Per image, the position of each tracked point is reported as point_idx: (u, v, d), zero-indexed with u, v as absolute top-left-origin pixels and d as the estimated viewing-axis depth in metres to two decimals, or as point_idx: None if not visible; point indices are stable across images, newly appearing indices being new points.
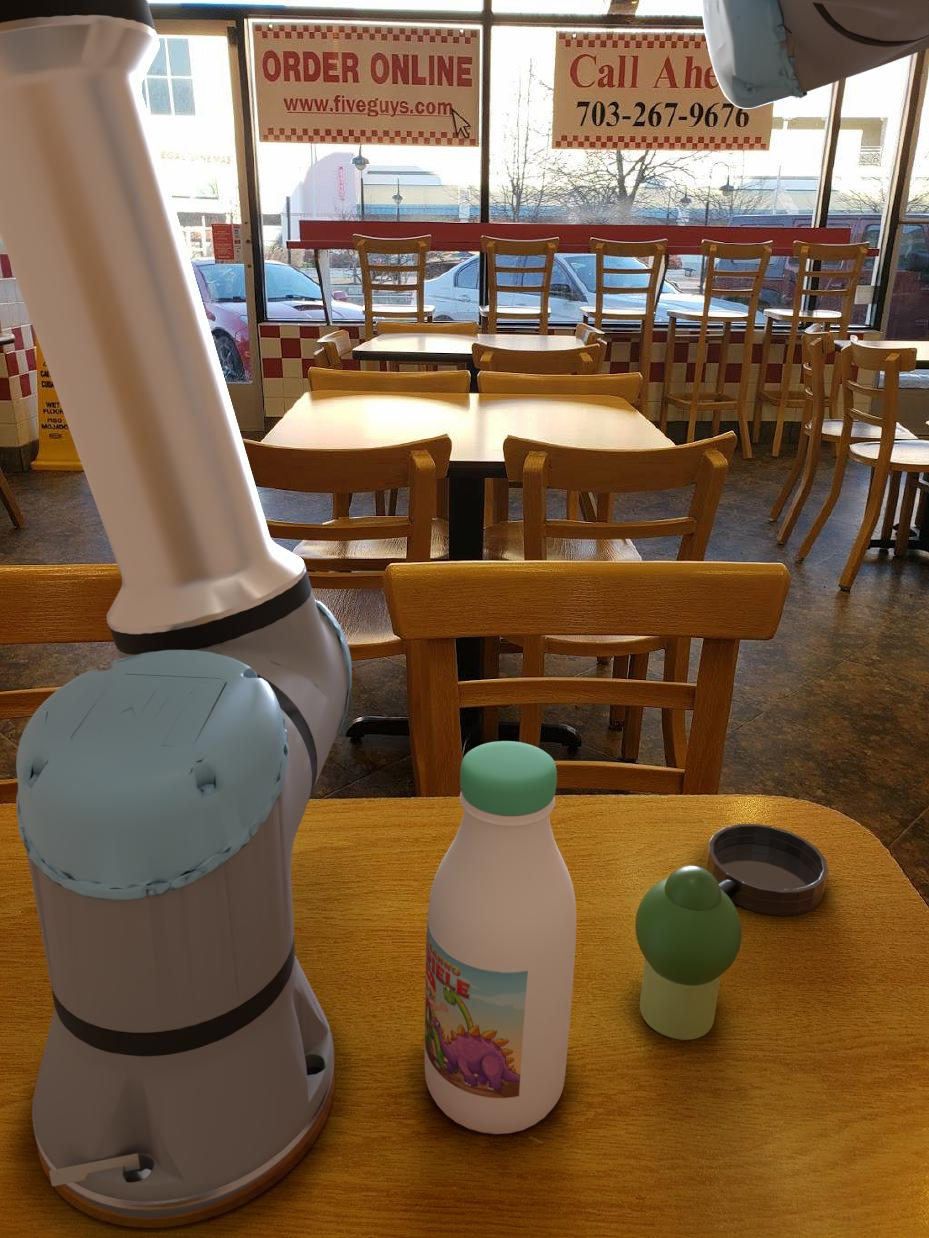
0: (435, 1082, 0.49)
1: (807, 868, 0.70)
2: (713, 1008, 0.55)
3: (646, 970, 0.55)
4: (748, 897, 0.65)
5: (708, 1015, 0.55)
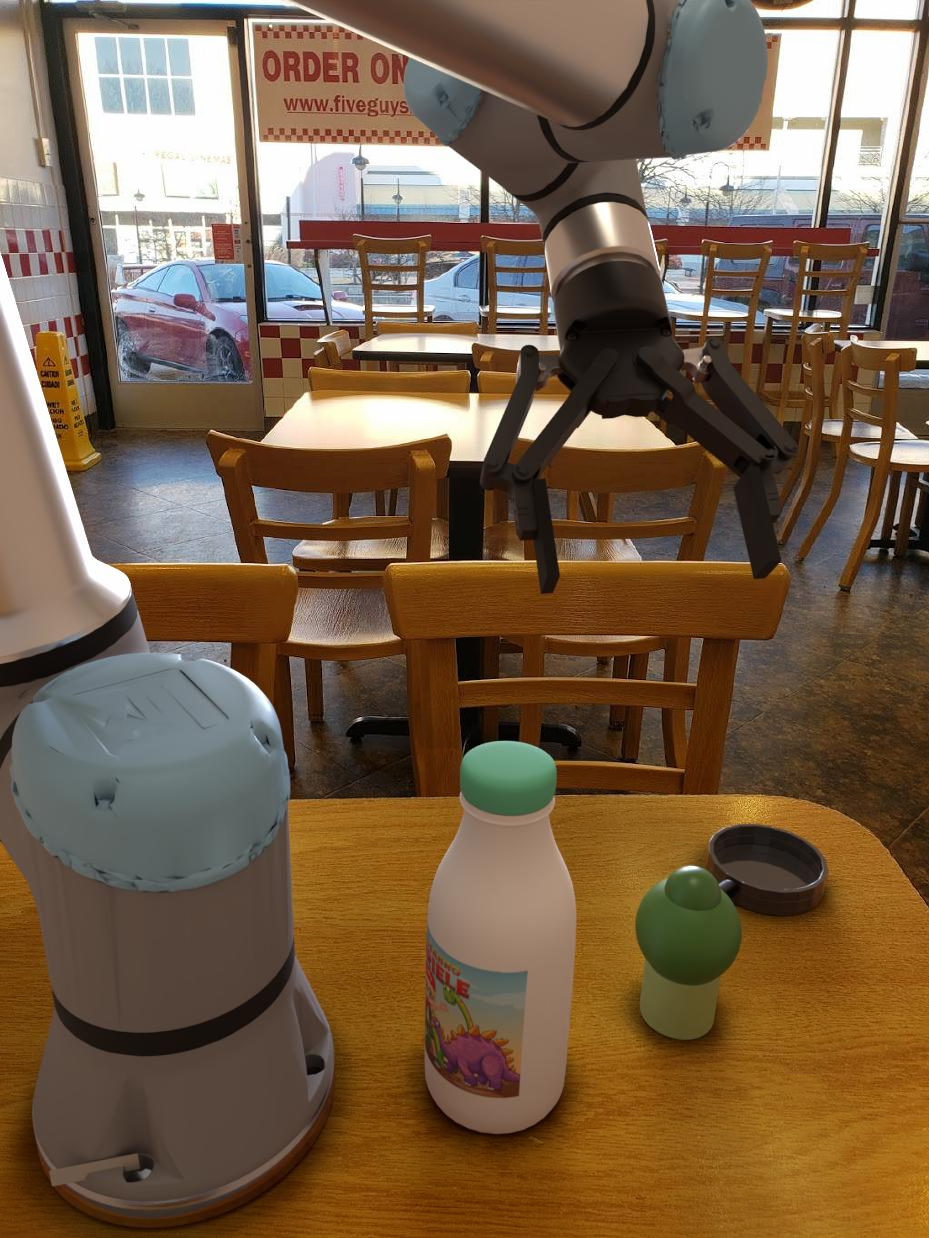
0: (435, 1082, 0.49)
1: (807, 868, 0.70)
2: (713, 1008, 0.55)
3: (646, 970, 0.55)
4: (748, 897, 0.65)
5: (708, 1015, 0.55)
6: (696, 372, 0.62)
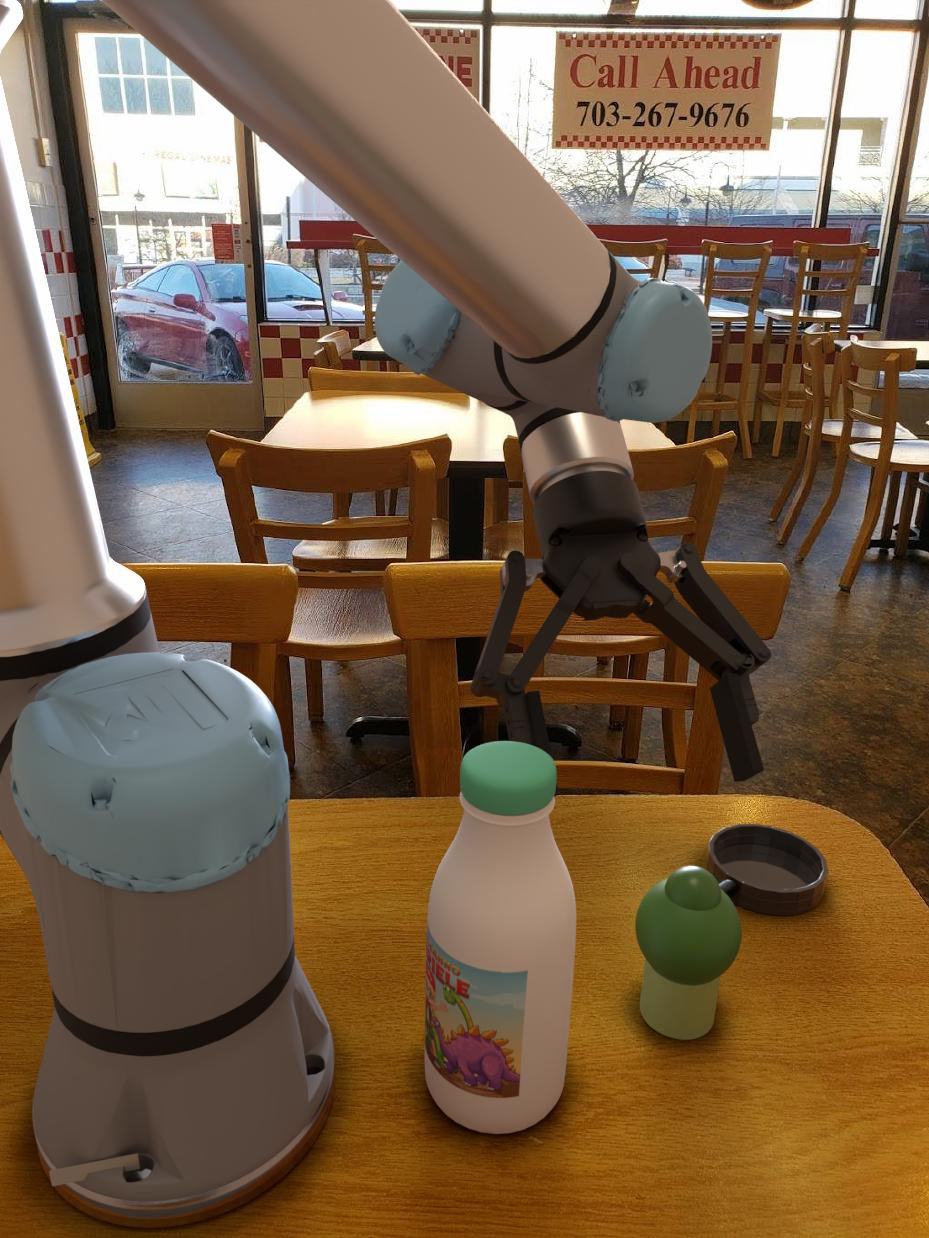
0: (435, 1082, 0.49)
1: (807, 868, 0.70)
2: (713, 1008, 0.55)
3: (646, 970, 0.55)
4: (748, 897, 0.65)
5: (708, 1015, 0.55)
6: (671, 575, 0.65)
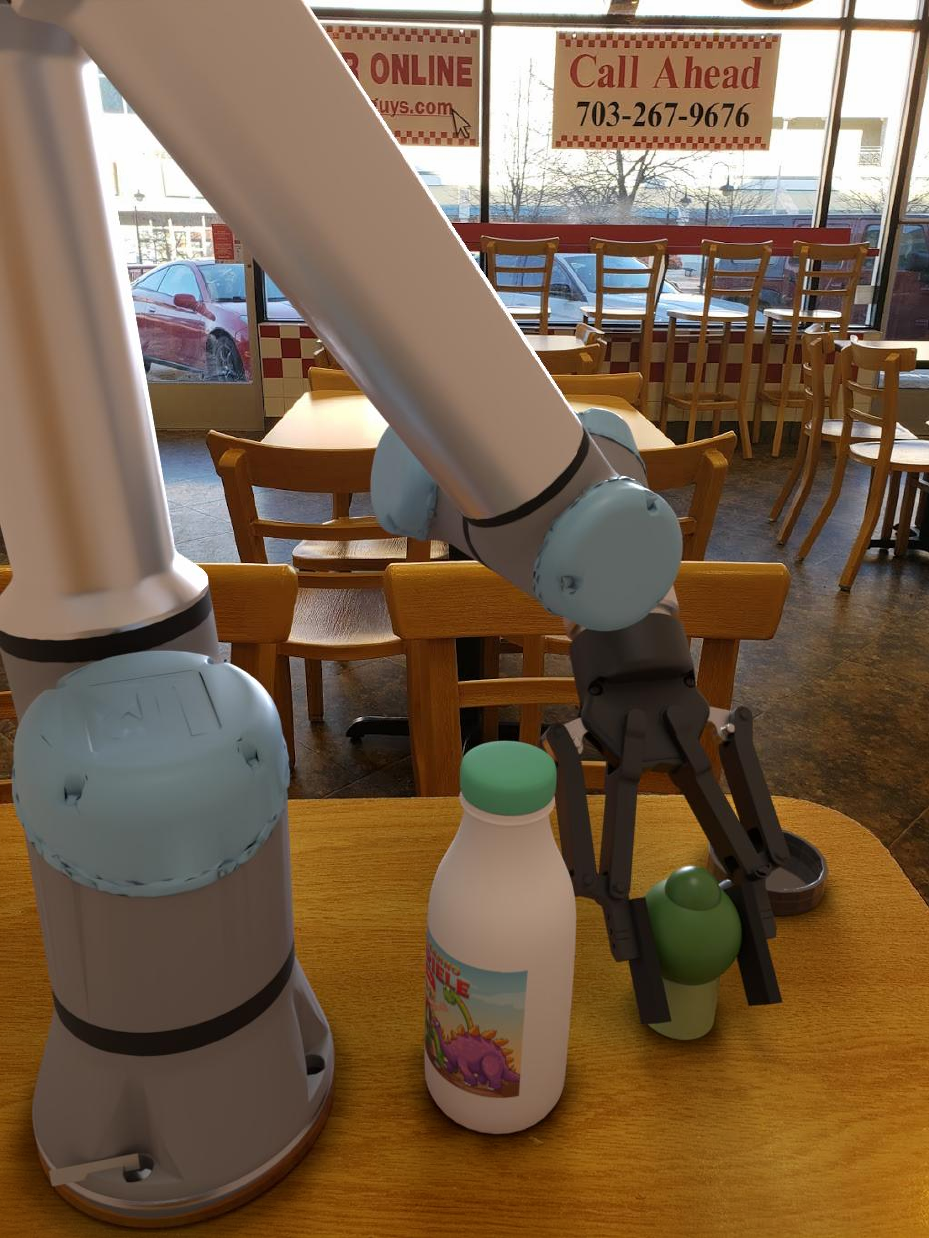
0: (435, 1082, 0.49)
1: (807, 868, 0.70)
2: (713, 1008, 0.55)
3: None
4: None
5: (708, 1015, 0.55)
6: (715, 734, 0.59)
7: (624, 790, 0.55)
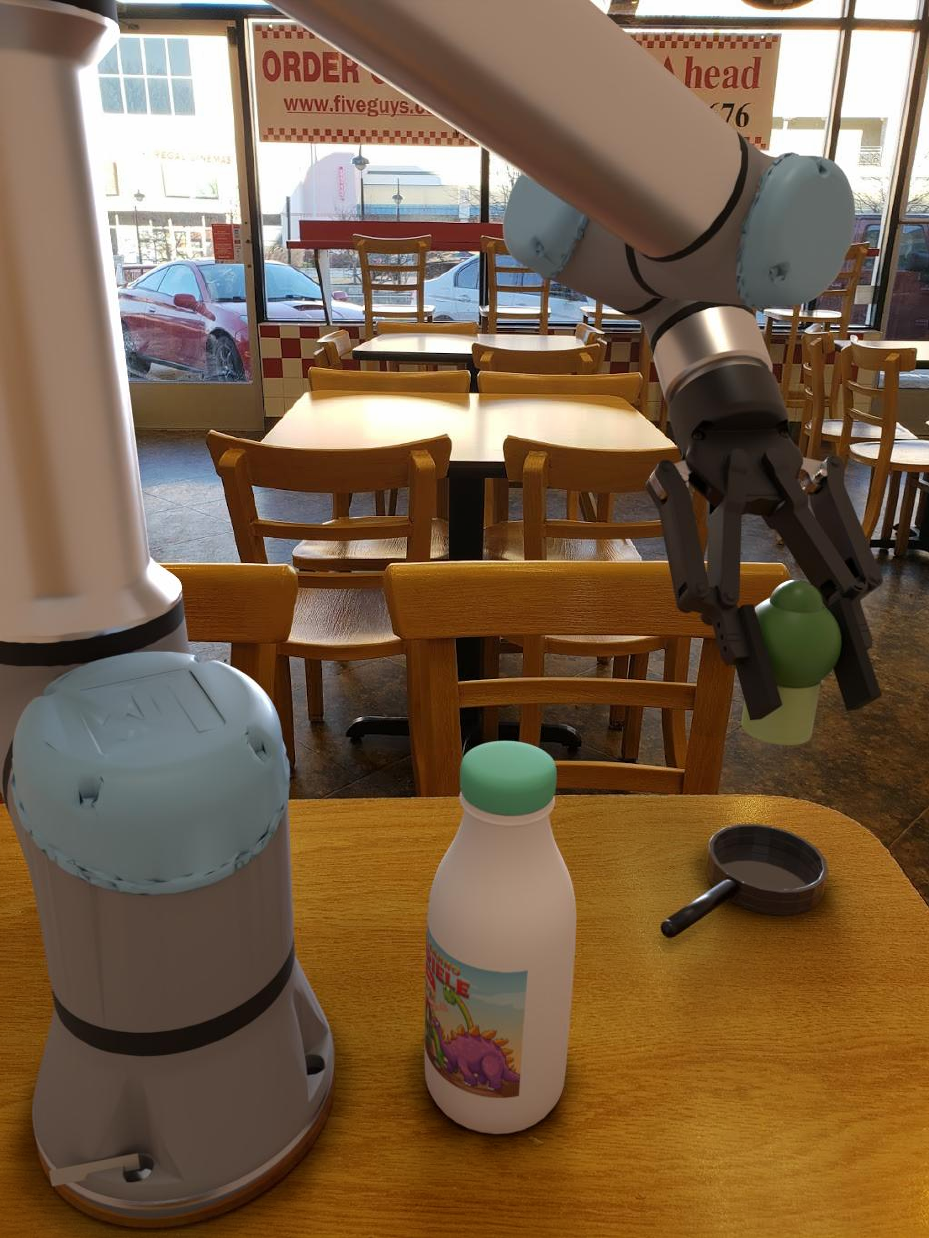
0: (435, 1082, 0.49)
1: (807, 868, 0.70)
2: (813, 717, 0.59)
3: None
4: (748, 897, 0.65)
5: (809, 722, 0.59)
6: (808, 481, 0.63)
7: (729, 518, 0.60)
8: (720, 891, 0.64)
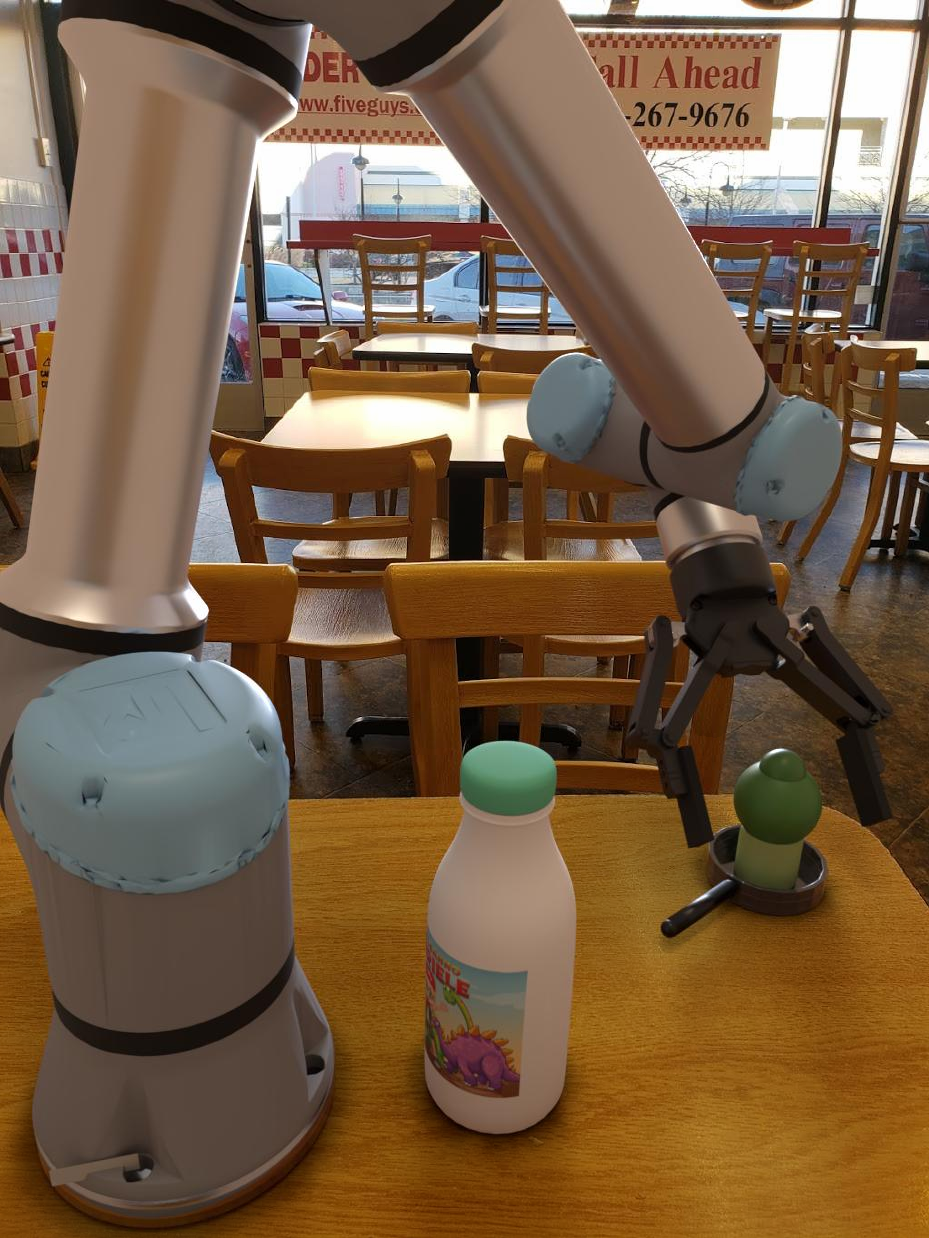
0: (435, 1082, 0.49)
1: (807, 868, 0.70)
2: (797, 867, 0.67)
3: (742, 836, 0.67)
4: (748, 897, 0.65)
5: (793, 872, 0.67)
6: (798, 635, 0.71)
7: (701, 674, 0.67)
8: (720, 891, 0.64)
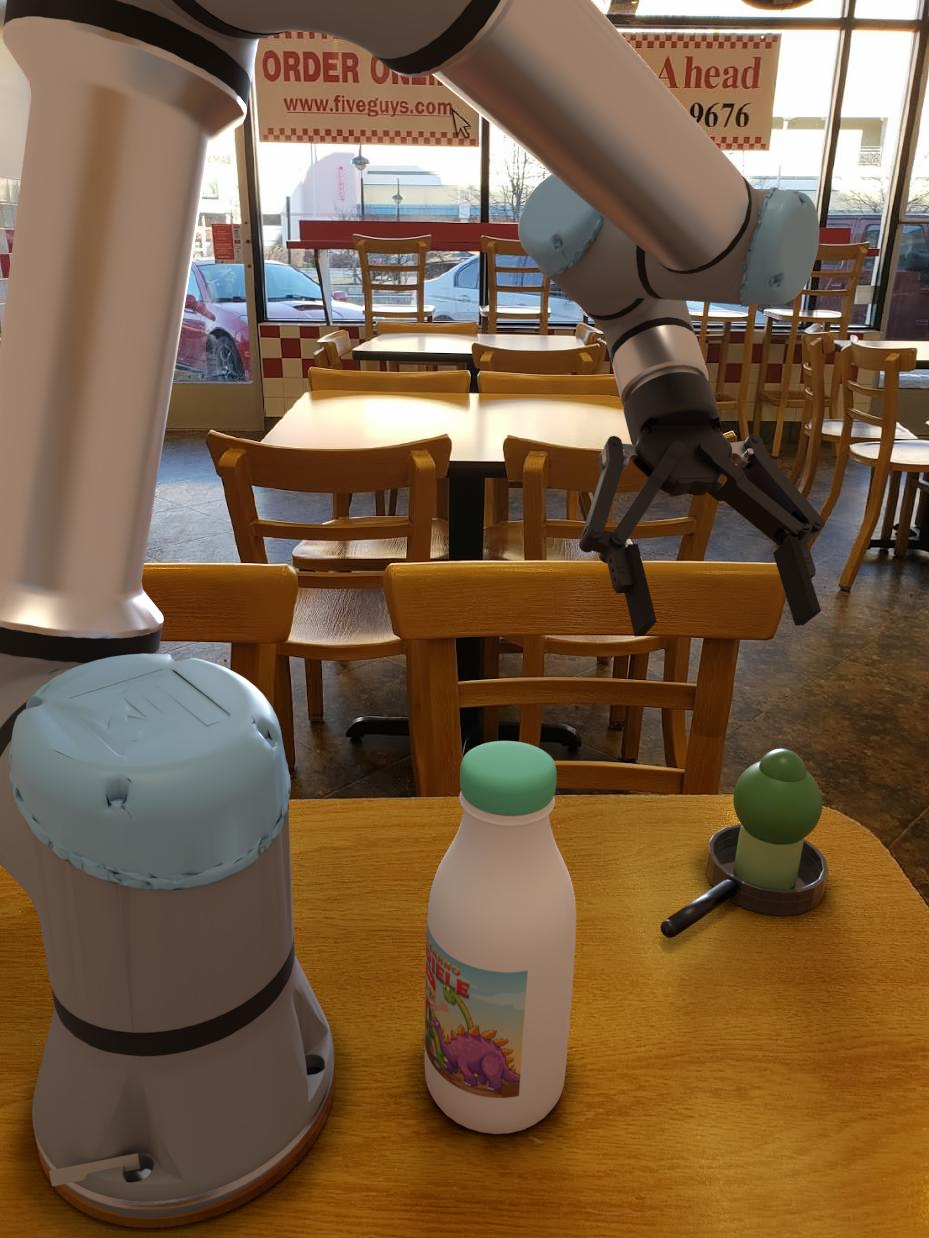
0: (435, 1082, 0.49)
1: (807, 868, 0.70)
2: (797, 867, 0.67)
3: (742, 836, 0.67)
4: (748, 897, 0.65)
5: (793, 872, 0.67)
6: (740, 461, 0.78)
7: (649, 486, 0.74)
8: (720, 891, 0.64)
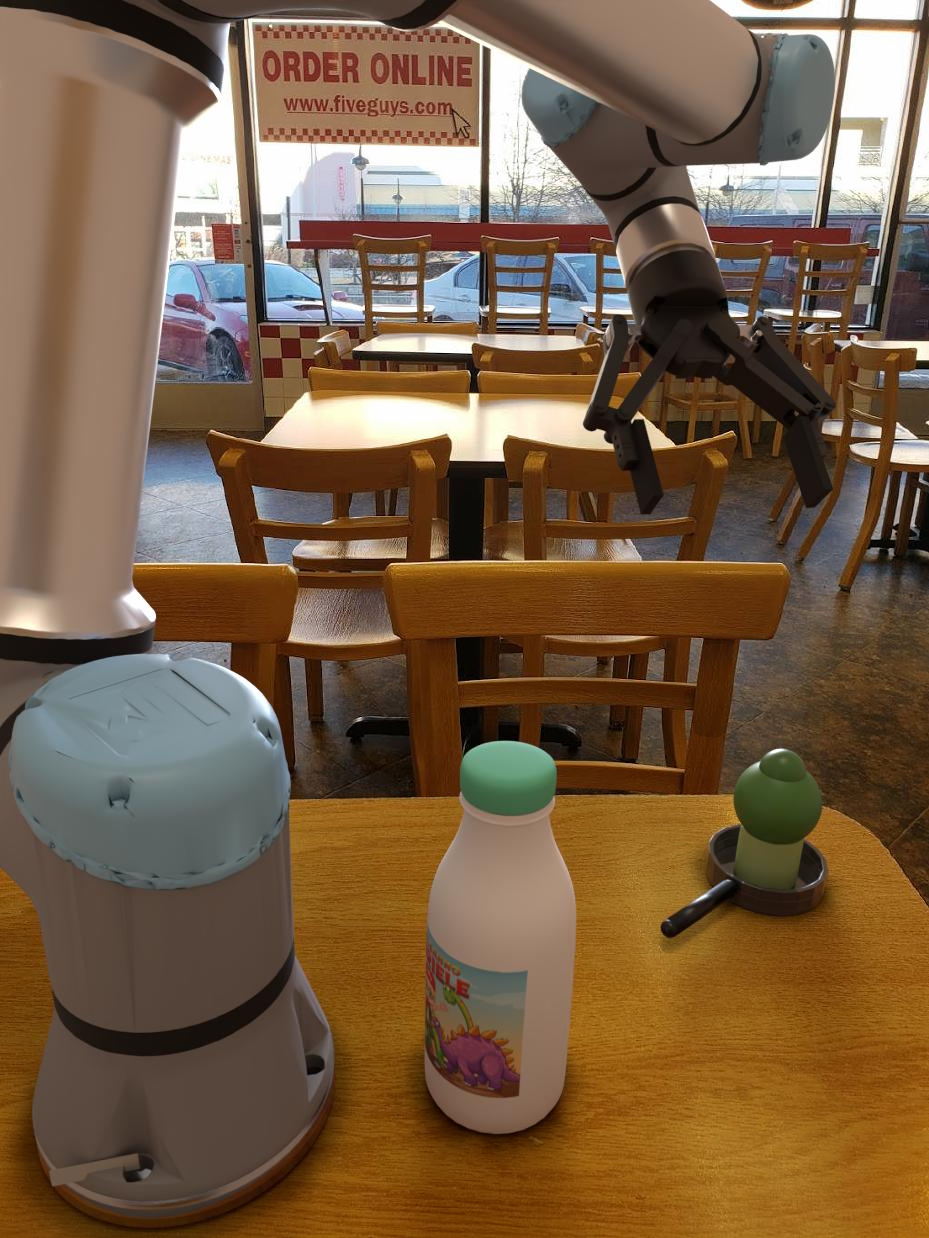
0: (435, 1082, 0.49)
1: (807, 868, 0.70)
2: (797, 867, 0.67)
3: (742, 836, 0.67)
4: (748, 897, 0.65)
5: (793, 872, 0.67)
6: (748, 344, 0.76)
7: (655, 364, 0.72)
8: (720, 891, 0.64)
